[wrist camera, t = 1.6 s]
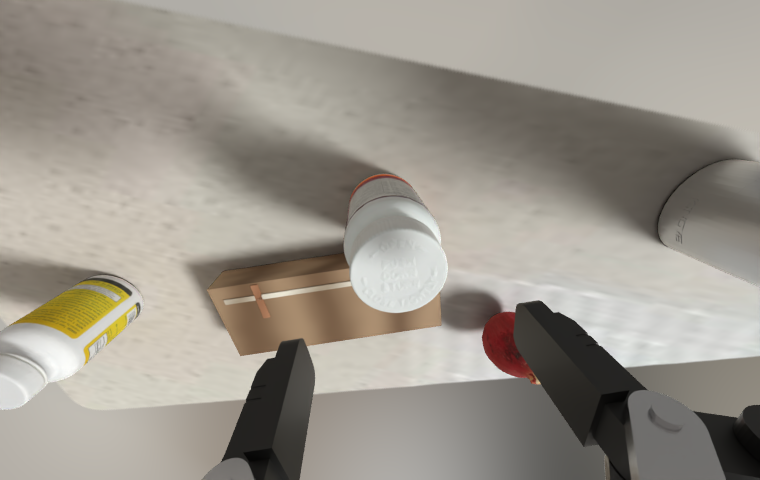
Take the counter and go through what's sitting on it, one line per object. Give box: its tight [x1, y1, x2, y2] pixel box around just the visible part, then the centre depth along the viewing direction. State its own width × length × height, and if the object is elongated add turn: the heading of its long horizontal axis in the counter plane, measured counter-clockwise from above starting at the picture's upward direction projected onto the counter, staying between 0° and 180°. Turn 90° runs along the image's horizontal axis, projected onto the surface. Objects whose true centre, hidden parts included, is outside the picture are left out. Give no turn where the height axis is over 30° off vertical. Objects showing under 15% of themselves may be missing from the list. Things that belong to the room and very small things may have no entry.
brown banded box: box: [207, 253, 441, 356], centre depth 26 cm, size 20×8×3 cm, turn 98°
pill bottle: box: [344, 174, 448, 313], centre depth 19 cm, size 6×6×11 cm
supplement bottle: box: [0, 275, 144, 410], centre depth 22 cm, size 5×5×10 cm
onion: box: [482, 312, 541, 384], centre depth 27 cm, size 6×6×8 cm
